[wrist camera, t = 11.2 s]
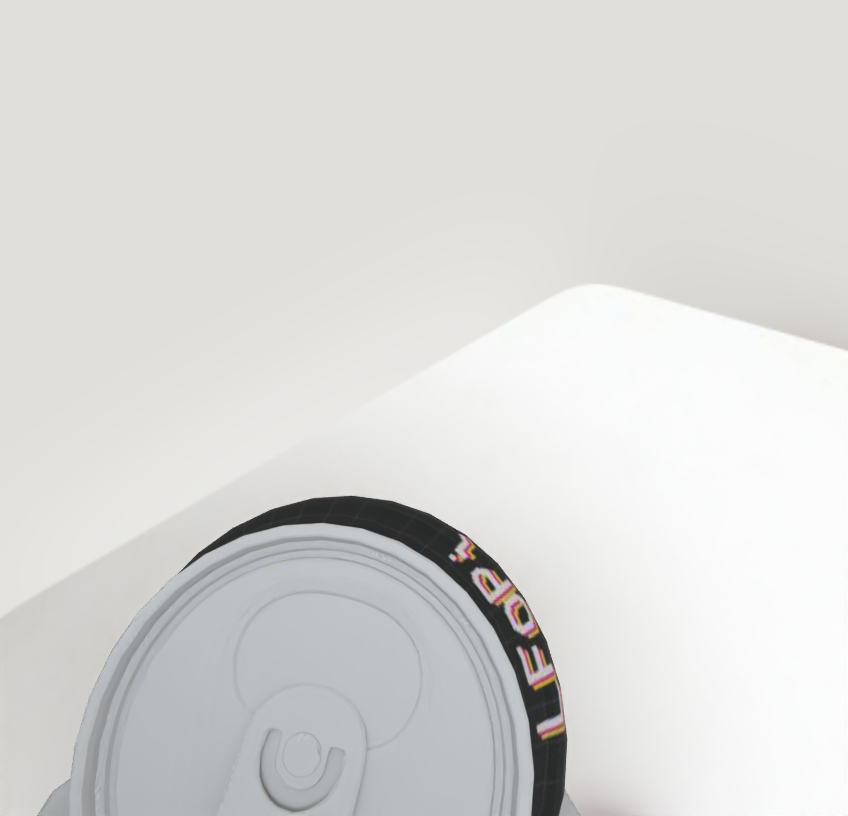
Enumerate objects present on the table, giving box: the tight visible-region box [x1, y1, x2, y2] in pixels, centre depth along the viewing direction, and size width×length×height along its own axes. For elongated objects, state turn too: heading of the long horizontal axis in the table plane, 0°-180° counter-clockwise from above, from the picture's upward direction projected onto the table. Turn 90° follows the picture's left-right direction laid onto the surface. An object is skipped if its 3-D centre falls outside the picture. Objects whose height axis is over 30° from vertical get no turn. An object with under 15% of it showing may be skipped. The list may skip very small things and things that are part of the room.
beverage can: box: [68, 496, 567, 816], centre depth 11 cm, size 6×6×12 cm
